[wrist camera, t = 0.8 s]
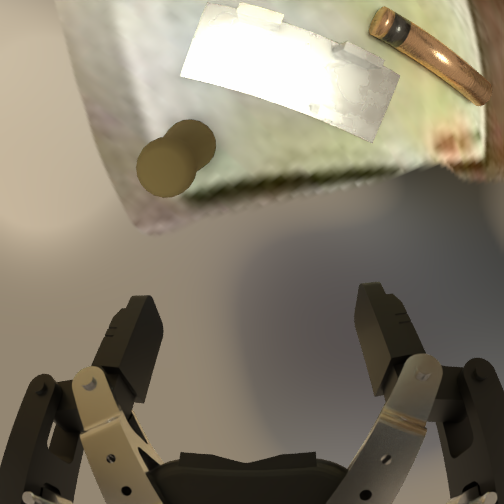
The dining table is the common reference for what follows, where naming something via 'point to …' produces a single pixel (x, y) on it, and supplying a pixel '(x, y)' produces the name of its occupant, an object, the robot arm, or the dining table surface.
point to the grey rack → (291, 67)
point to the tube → (430, 54)
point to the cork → (175, 158)
